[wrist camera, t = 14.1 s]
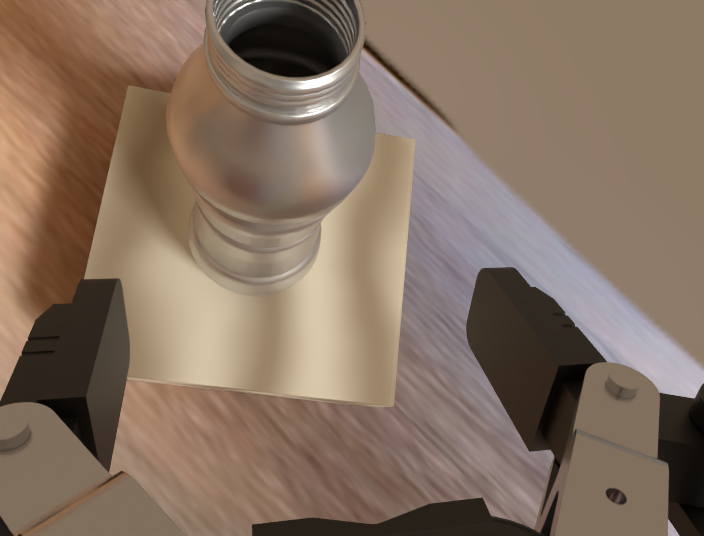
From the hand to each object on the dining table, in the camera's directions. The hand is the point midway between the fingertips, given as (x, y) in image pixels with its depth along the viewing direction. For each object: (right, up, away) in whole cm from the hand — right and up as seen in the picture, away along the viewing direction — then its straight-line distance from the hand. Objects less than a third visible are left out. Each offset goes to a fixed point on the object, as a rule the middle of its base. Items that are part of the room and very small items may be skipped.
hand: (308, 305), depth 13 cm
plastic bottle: (-4, +2, +19) cm, 20 cm away
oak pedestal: (-5, +1, +24) cm, 25 cm away
